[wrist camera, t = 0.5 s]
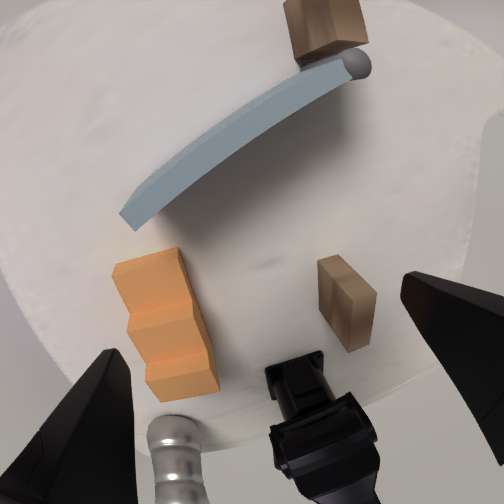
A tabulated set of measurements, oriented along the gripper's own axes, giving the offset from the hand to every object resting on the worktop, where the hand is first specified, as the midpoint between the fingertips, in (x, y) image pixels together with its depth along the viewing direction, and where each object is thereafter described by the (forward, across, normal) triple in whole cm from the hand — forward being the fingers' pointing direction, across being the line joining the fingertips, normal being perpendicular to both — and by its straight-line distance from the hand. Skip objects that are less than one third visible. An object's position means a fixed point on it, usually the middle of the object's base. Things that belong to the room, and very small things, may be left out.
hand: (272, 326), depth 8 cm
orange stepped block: (+13, +6, +8) cm, 16 cm away
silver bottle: (+14, +12, +25) cm, 31 cm away
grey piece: (+13, -2, -5) cm, 14 cm away
